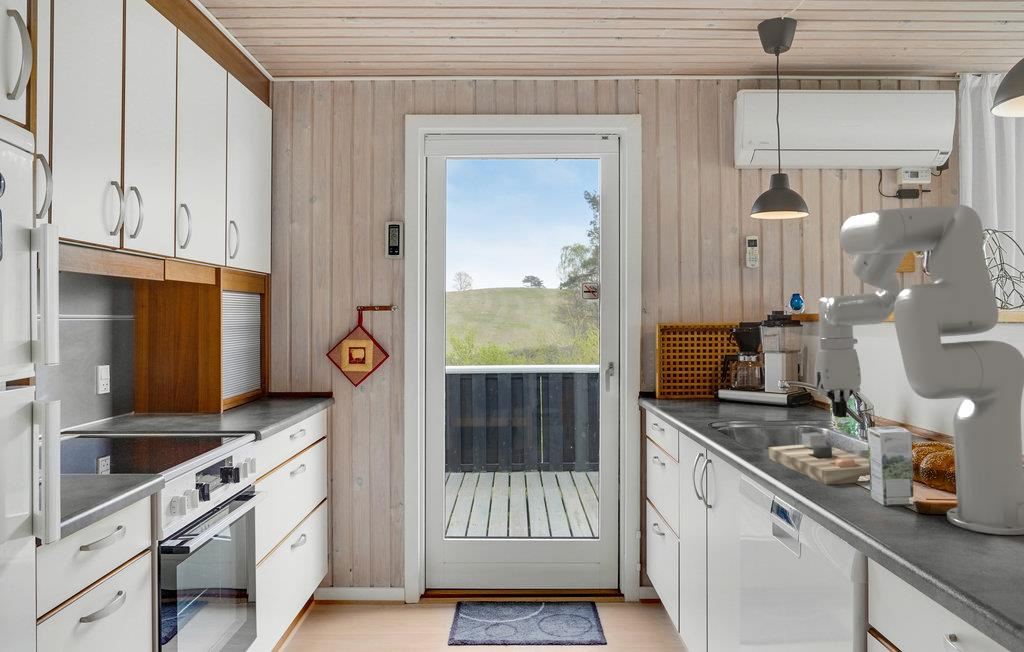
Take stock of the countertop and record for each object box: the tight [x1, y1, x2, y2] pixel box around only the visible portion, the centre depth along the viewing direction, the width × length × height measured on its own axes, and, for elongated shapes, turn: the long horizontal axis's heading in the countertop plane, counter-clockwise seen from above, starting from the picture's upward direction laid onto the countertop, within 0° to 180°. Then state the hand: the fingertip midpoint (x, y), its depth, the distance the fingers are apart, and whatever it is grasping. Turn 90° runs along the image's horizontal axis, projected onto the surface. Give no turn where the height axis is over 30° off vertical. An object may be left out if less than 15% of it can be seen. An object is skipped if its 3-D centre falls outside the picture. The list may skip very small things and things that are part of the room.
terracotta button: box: [835, 458, 855, 468], centre depth 146 cm, size 4×4×3 cm
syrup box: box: [867, 425, 915, 507], centre depth 127 cm, size 6×6×14 cm
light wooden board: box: [768, 444, 870, 486], centre depth 155 cm, size 26×14×3 cm, turn 5°
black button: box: [813, 444, 833, 459], centre depth 155 cm, size 4×4×3 cm
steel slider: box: [801, 431, 827, 448], centre depth 164 cm, size 4×4×3 cm
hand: (839, 416), depth 165 cm, fingers closed
